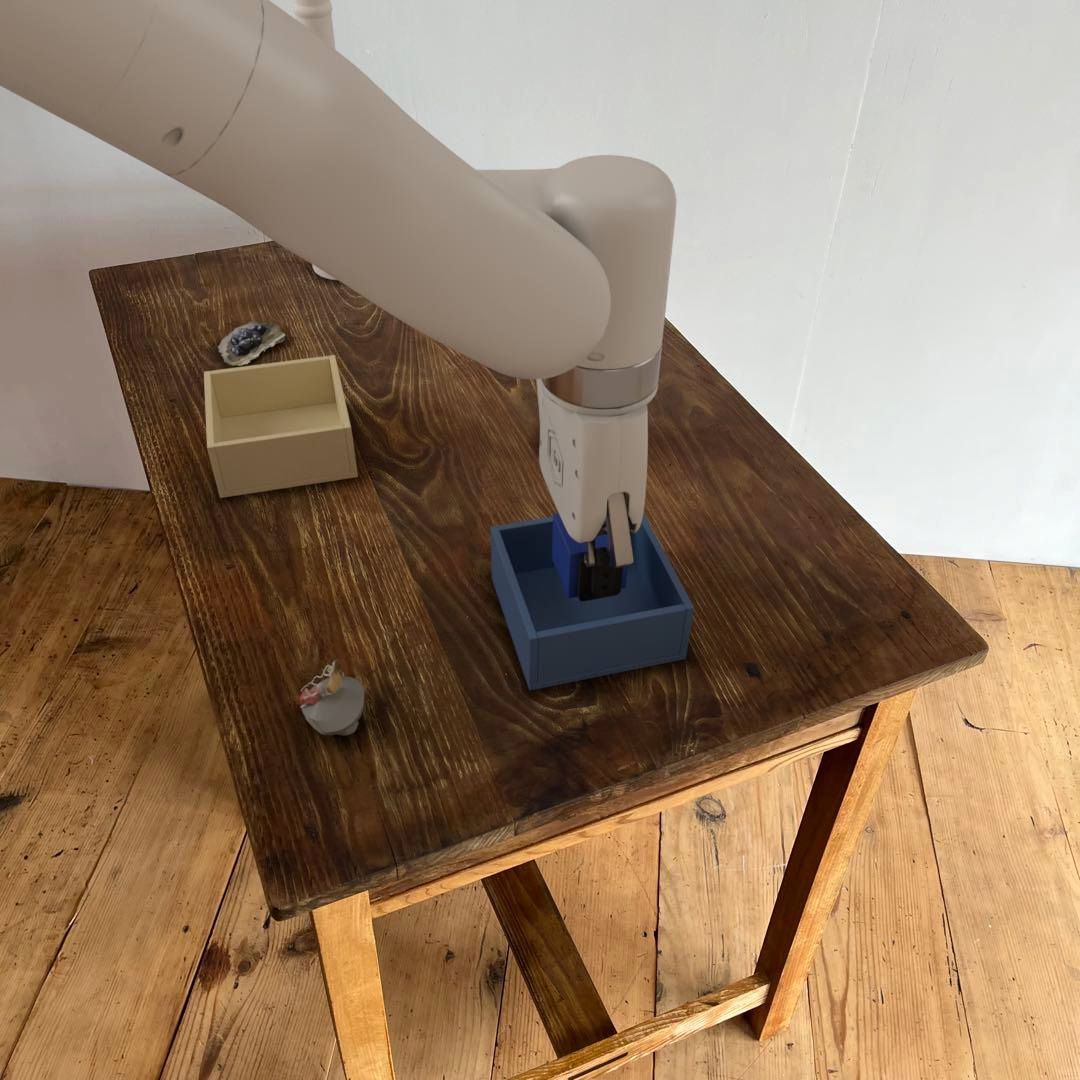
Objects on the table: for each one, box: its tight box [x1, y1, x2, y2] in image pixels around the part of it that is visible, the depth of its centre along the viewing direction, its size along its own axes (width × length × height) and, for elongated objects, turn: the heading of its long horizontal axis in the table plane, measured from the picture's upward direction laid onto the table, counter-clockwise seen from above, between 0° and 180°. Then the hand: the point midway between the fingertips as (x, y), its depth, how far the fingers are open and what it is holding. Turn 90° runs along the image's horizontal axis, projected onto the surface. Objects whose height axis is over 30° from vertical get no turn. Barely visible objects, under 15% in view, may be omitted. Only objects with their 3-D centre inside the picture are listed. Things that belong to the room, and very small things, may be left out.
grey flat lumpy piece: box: [217, 320, 287, 367], centre depth 108 cm, size 7×8×2 cm
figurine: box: [299, 658, 365, 736], centre depth 70 cm, size 5×4×6 cm
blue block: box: [552, 512, 628, 598], centre depth 75 cm, size 4×4×4 cm
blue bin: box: [489, 512, 695, 691], centre depth 78 cm, size 12×12×6 cm
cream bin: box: [203, 354, 359, 499], centre depth 93 cm, size 12×12×6 cm
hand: (588, 569), depth 76 cm, fingers closed on blue block, 4 cm apart
